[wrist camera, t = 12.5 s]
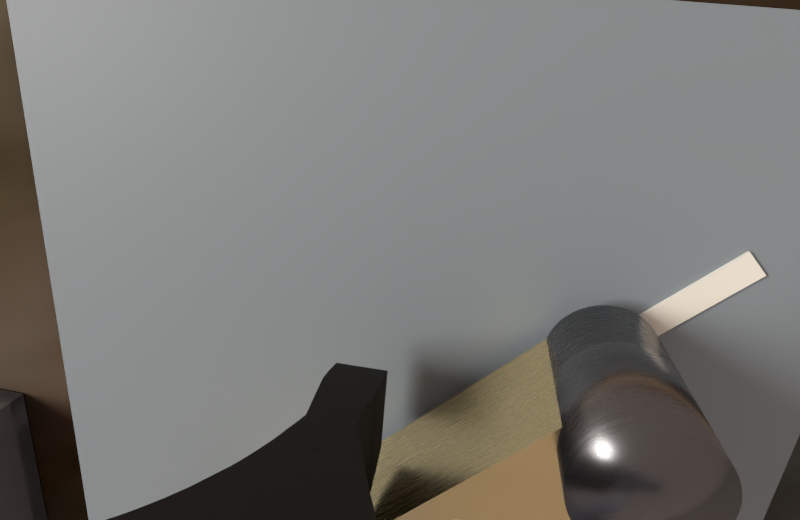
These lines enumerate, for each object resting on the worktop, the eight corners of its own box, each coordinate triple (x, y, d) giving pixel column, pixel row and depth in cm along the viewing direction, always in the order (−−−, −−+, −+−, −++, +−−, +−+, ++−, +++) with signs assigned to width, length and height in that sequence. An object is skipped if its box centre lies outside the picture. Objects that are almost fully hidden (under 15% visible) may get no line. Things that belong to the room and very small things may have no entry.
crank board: (652, 717, 17) (708, 949, 13) (123, 596, 19) (11, 756, 15) (931, 26, 10) (1286, 2, 5) (36, -44, 12) (-231, -102, 8)
